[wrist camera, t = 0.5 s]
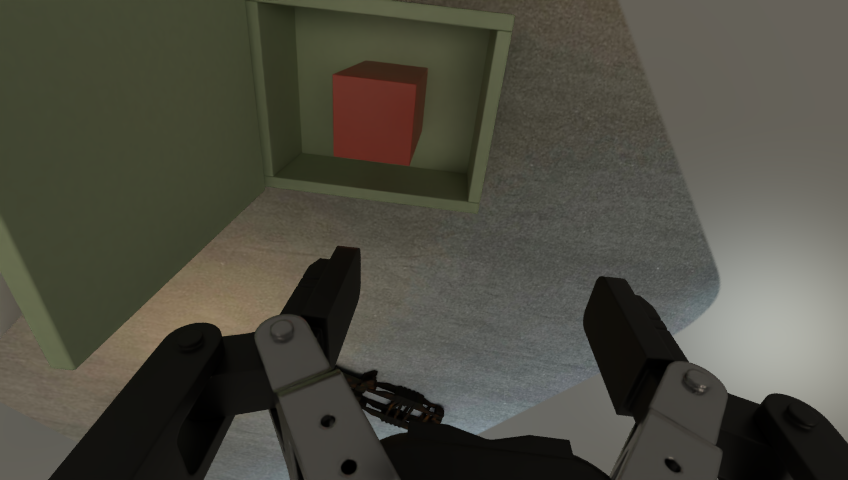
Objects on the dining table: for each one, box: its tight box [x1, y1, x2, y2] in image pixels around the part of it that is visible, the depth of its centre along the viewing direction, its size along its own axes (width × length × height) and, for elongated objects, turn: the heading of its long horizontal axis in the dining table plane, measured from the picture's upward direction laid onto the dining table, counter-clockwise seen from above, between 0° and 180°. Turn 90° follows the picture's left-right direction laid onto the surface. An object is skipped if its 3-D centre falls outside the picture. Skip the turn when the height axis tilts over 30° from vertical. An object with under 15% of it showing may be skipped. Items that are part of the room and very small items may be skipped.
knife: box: [342, 370, 444, 430], centre depth 44 cm, size 25×6×1 cm, turn 60°
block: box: [333, 60, 428, 166], centre depth 25 cm, size 4×4×8 cm
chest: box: [245, 0, 515, 214], centre depth 26 cm, size 15×12×6 cm
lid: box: [0, 0, 265, 370], centre depth 16 cm, size 15×12×5 cm
